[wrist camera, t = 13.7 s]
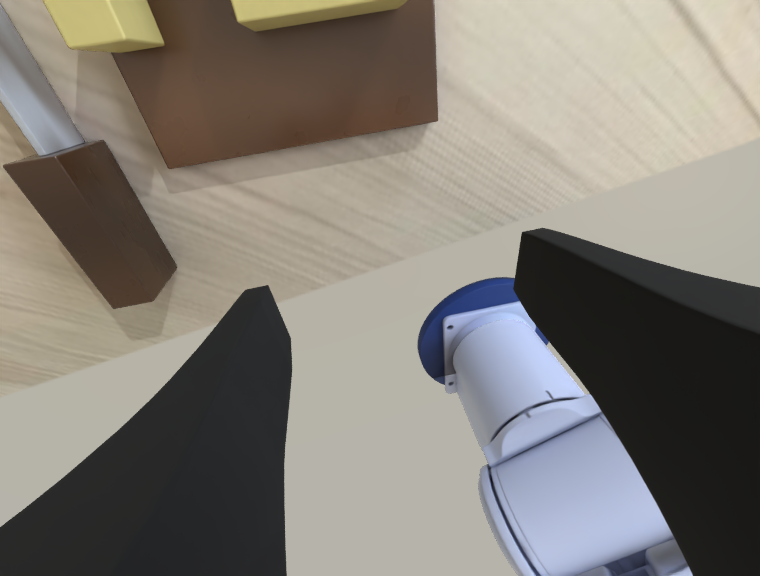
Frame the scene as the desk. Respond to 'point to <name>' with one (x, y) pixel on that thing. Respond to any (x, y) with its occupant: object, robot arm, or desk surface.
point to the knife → (79, 186)
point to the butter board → (279, 79)
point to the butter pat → (105, 24)
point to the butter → (303, 11)
